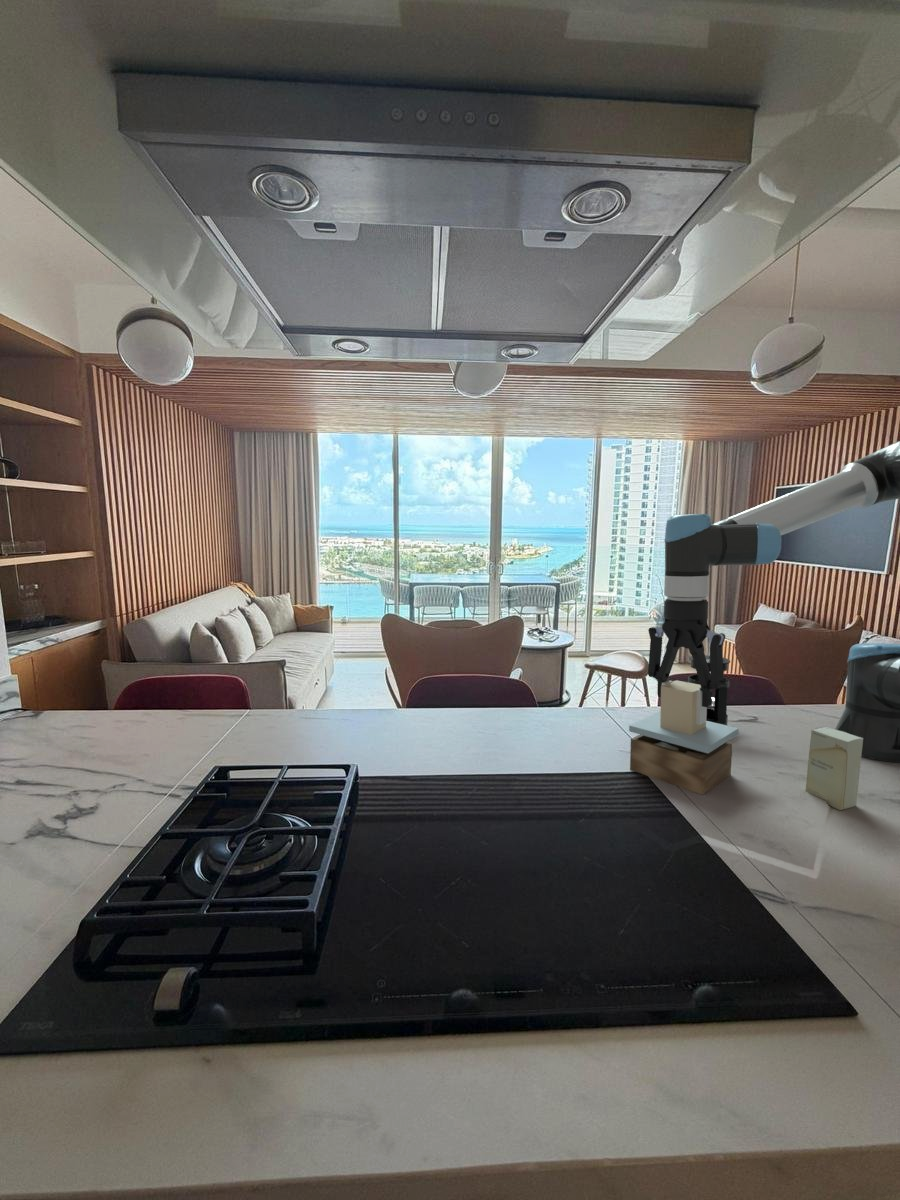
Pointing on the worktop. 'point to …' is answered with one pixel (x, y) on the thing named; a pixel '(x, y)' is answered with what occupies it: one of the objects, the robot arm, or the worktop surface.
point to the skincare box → (834, 766)
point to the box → (680, 764)
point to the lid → (683, 721)
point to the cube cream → (666, 746)
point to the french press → (720, 701)
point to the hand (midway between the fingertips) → (683, 718)
